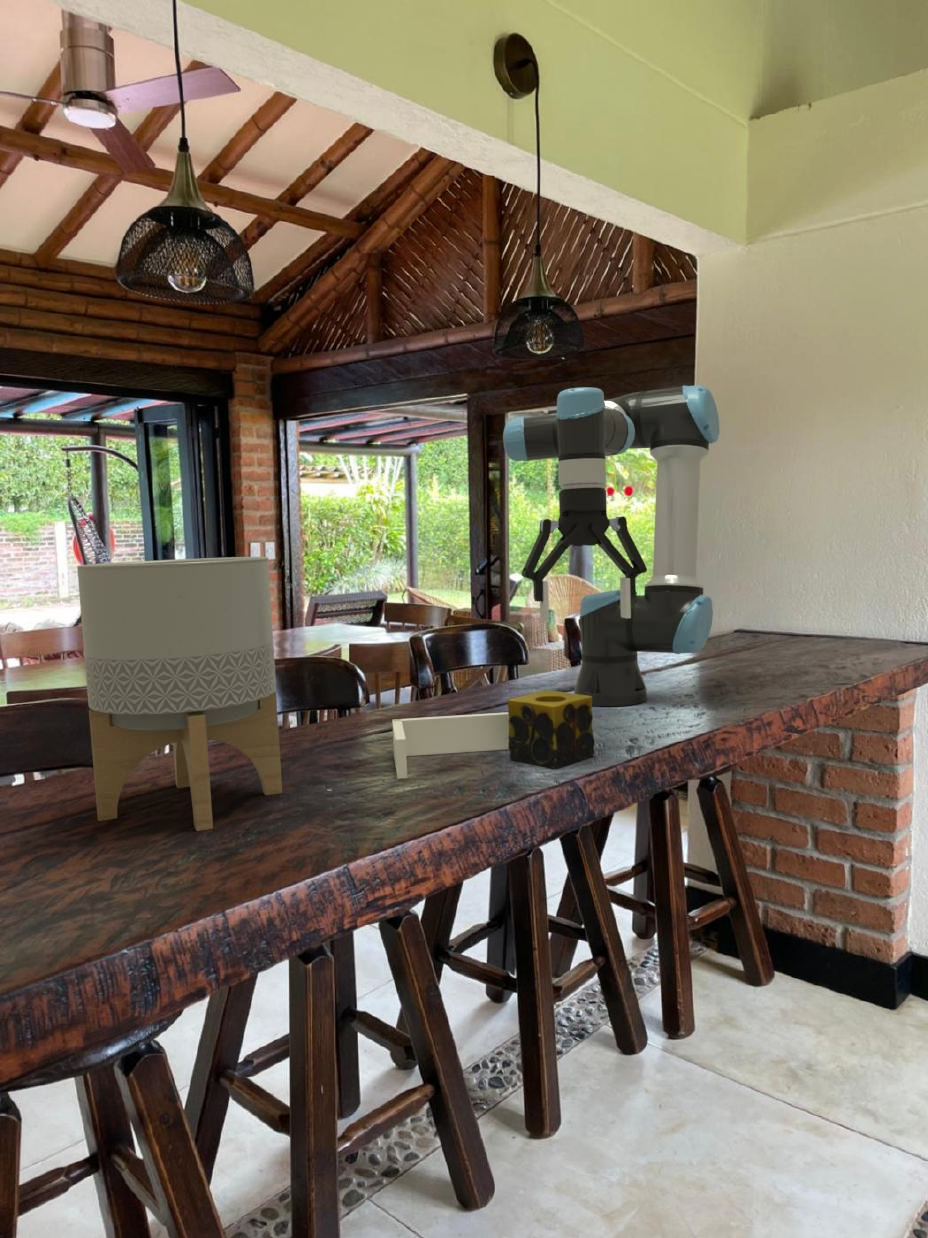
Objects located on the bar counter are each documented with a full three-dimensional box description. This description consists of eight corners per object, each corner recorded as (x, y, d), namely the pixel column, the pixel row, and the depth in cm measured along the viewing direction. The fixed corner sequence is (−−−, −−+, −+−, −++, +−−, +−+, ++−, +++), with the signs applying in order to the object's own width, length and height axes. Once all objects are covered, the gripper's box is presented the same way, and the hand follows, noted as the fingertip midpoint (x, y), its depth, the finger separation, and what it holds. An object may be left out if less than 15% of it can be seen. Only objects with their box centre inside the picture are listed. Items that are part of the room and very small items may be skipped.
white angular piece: (511, 746, 153) (510, 712, 152) (528, 769, 138) (526, 731, 137) (393, 754, 150) (392, 719, 150) (397, 778, 136) (395, 739, 135)
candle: (548, 747, 151) (546, 689, 150) (596, 756, 144) (595, 695, 143) (507, 760, 144) (504, 699, 143) (555, 770, 137) (553, 705, 136)
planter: (100, 847, 110) (77, 567, 107) (95, 796, 133) (76, 564, 130) (300, 814, 120) (285, 557, 117) (264, 772, 143) (250, 555, 139)
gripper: (648, 486, 149) (650, 614, 151) (501, 491, 146) (505, 621, 147) (665, 484, 142) (667, 617, 144) (511, 488, 138) (515, 625, 140)
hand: (585, 620), depth 146 cm, fingers open, 13 cm apart
